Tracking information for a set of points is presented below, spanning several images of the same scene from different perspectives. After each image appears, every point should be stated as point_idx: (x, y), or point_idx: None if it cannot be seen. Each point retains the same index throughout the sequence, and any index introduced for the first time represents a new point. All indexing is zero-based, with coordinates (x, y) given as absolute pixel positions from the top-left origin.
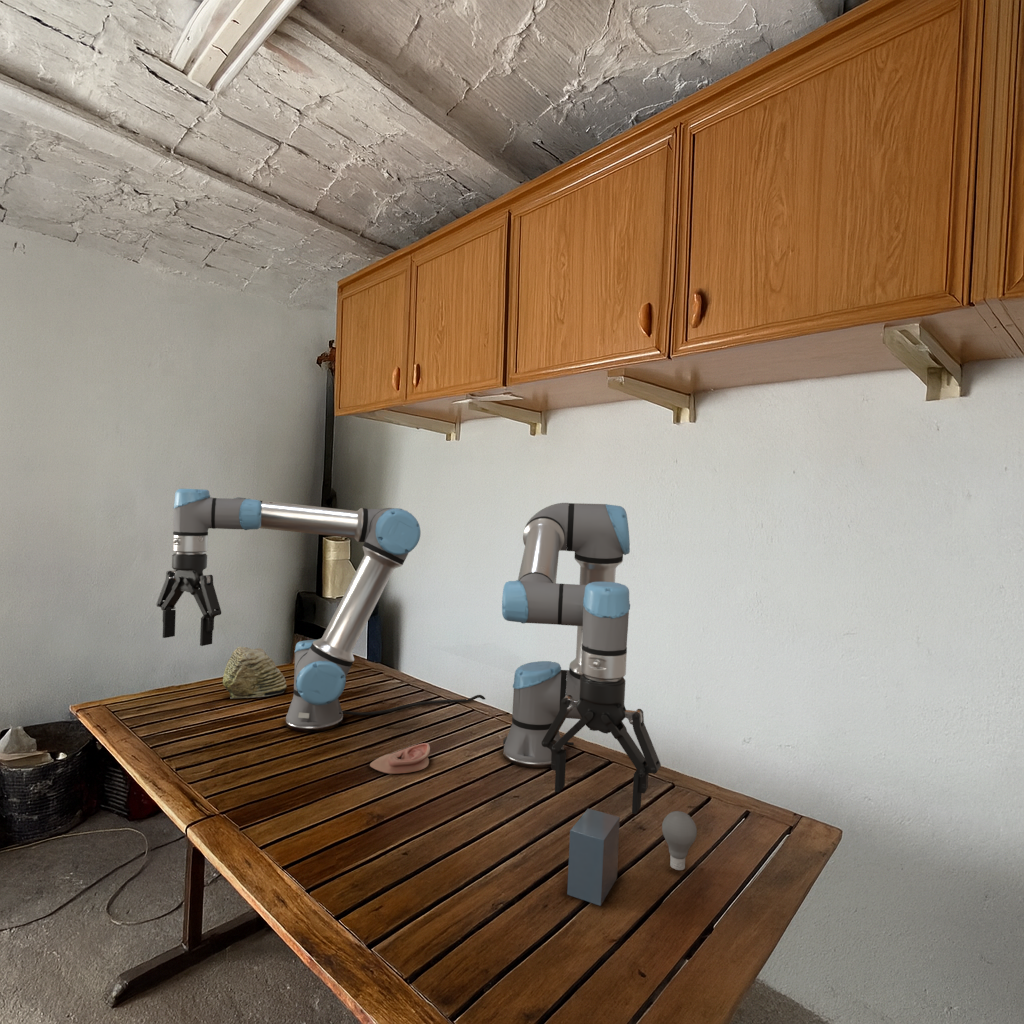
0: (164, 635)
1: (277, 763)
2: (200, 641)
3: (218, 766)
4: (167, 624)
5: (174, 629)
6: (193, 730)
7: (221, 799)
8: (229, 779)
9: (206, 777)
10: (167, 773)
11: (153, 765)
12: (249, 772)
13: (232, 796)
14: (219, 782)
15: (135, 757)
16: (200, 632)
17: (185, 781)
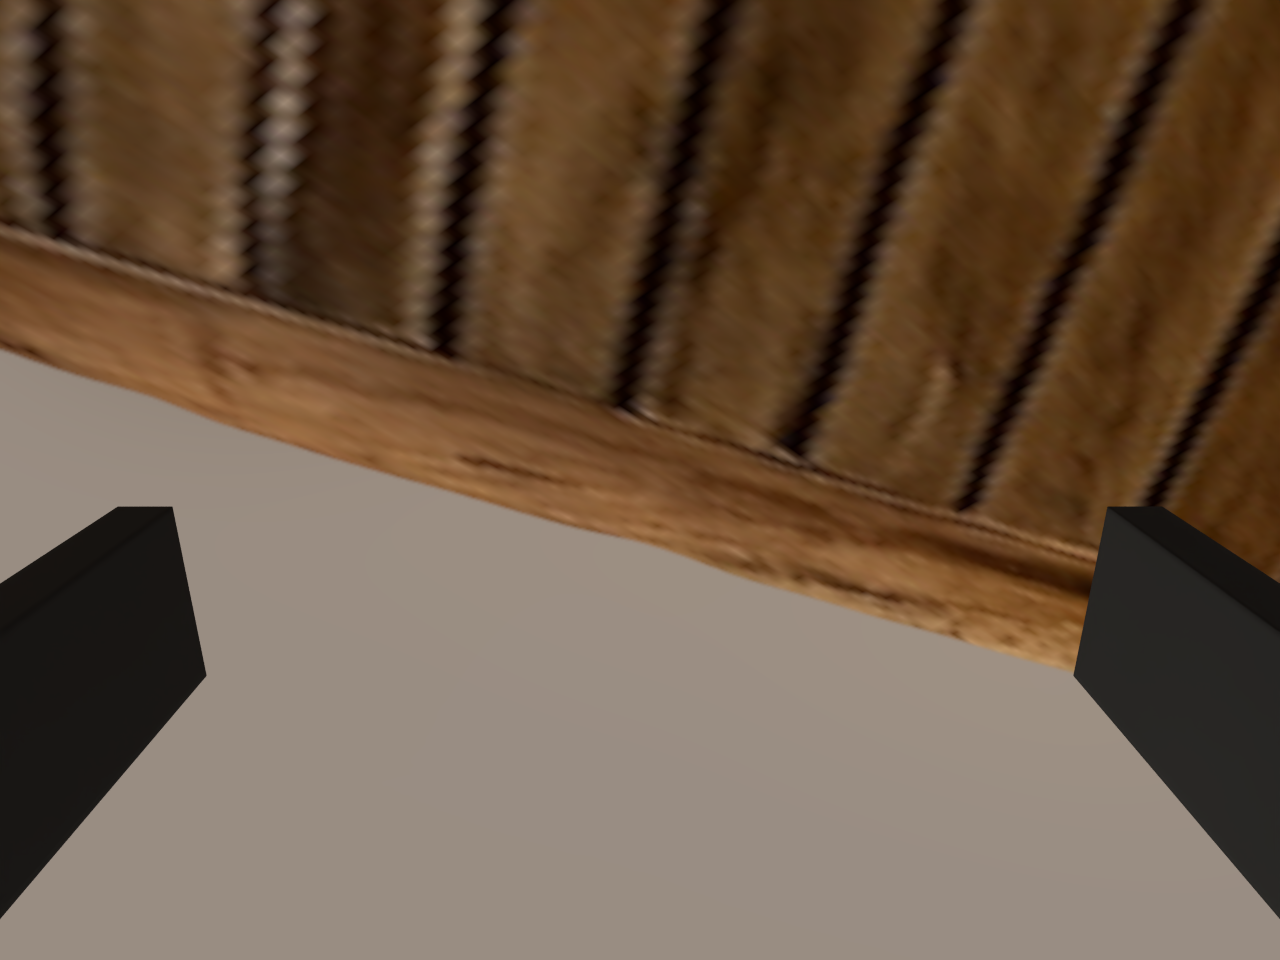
0: (181, 699)
1: (1208, 119)
2: (1119, 717)
3: (943, 322)
4: (59, 787)
5: (106, 572)
6: (375, 35)
7: None
8: (1101, 392)
9: (986, 433)
10: (793, 497)
11: (659, 478)
12: (1139, 287)
13: (1230, 495)
14: (1081, 436)
15: (501, 467)
16: (1198, 822)
17: (933, 506)
